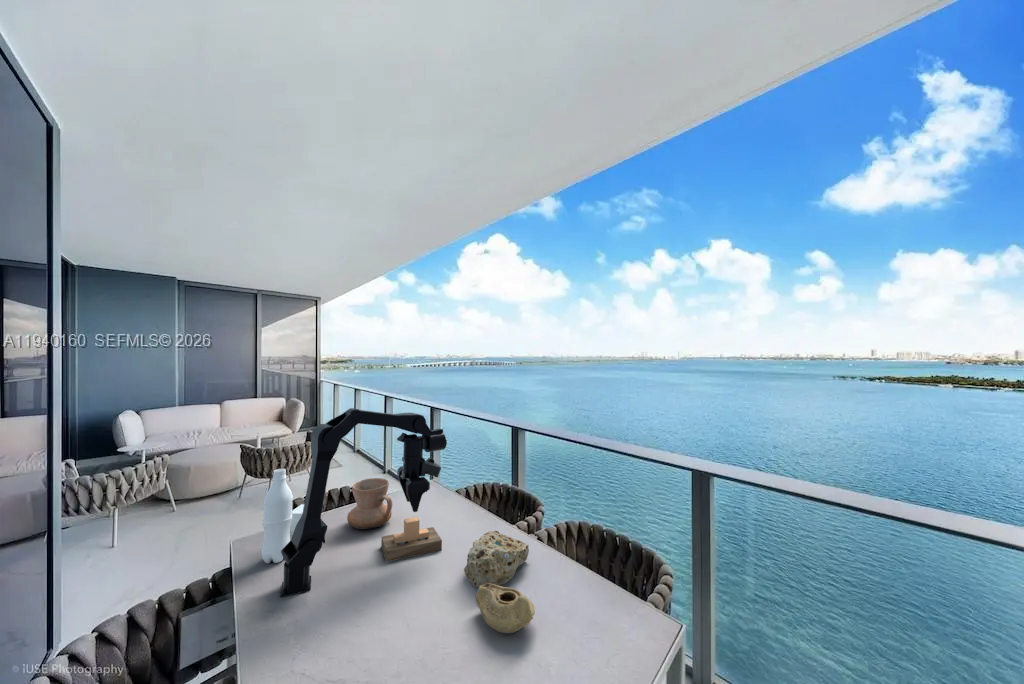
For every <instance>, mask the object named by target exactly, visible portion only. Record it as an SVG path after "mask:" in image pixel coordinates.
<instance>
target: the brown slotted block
mask: <svg viewBox="0 0 1024 684" xmlns="http://www.w3.org/2000/svg"><path fill="white" fill-rule="evenodd" d="M426 528H427V530H428V531H429V537H427V538H425V540H421V541H418V539H417V540H411V541H406V542H405V544H401V545H398V543H396V544H395V542H394V534H395V533H393V534H388V535H382V536H381V544H380V545H381V550H382V553H383V556H384V559H385V562H386V563H388V562H393V561H397V560H402V559H407V558H411V557H416V556H421V555H424V554H425V555H426V554H430V553H435V552H440V551H442V550H443V549H442V547H443V543H442V542H443V540H442V538H441V536H440V535H439V534H438V532H437V530H436V529H435V527H434V526H430V527H426Z"/></svg>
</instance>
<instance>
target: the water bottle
mask: <svg viewBox="0 0 1024 684" xmlns="http://www.w3.org/2000/svg"><path fill="white" fill-rule="evenodd" d="M286 472H287V471H286V468H276V469H274V470H273V476H272V478H271V479H272V484H271V485H270V487H269V489H268V491H267V493H266V494H265V497H264V499H263V519H262V527H263V531H264V532H263V535H264V537H263V544H262V546H261V558H262V560H263V562H264V563H265V564H270V563H271V562H273V563H274V564H278V563H281V562H282V561H283V560H284V558H283V556H282V554H281V550H282V549H283V548H284V547H285V546H286V545H287V544H288V543H289V542H290V525H291V521H292V510H293V498H294V497H293V492H292V490H291V488H290V486H289V484H288V483H287V480H286V479H287V474H286Z"/></svg>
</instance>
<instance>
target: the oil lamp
mask: <svg viewBox="0 0 1024 684" xmlns="http://www.w3.org/2000/svg"><path fill="white" fill-rule="evenodd" d="M475 602H476V604H477V607H478V609H479V610H480V613H481V616H482V617H483V620H484V622H485V623H486V624H487V625H488V626H489V627H491V628H492V629H493V630H494V631H497V632H498V633H499V634H500V633H501V634H512V633H516V632H517V631H519V630H522V629H523V628H525V627H526V626H528V625H529V624H530V623H531V622H532V620H533V619H534V615H535V611H536V610H535V605H534V603H533V602H532V601H531V600H530V599H529V598H528V597H527V596H526V595H524V594H523V593H522V592H521V591H520V590H518V589H516V588H512V587H506V586H505V587H504V586H501V585H495V584H491V583H488V584H483V585H481V586H480V587H478V590H477V592H476V595H475Z"/></svg>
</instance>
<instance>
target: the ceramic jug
mask: <svg viewBox="0 0 1024 684" xmlns="http://www.w3.org/2000/svg"><path fill="white" fill-rule="evenodd" d="M389 485H390V481H389V480H388V479H386V478H382V477H370V478H362V479H360V480H356V481H355V482H354V483H352V484H351V492H352V494H353V497H354V501H355V503H356V505H355V507H354V508H352V509H351V510H350V511H349V512H348V514H347V517H346V520H347V523H348V525H350V526H351V527H353V528H355V529H357V530H358V529H360V530H369V529H375V528H379V527H381V526H383V525H386V523H388V522H389V520H390V519H391V518H392V515H393V514H392V513H393V512H392V509H393V498H392V497H391V496H389V495H388V490H389ZM384 500H385V502H386V503H387V504H385V503H384Z"/></svg>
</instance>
